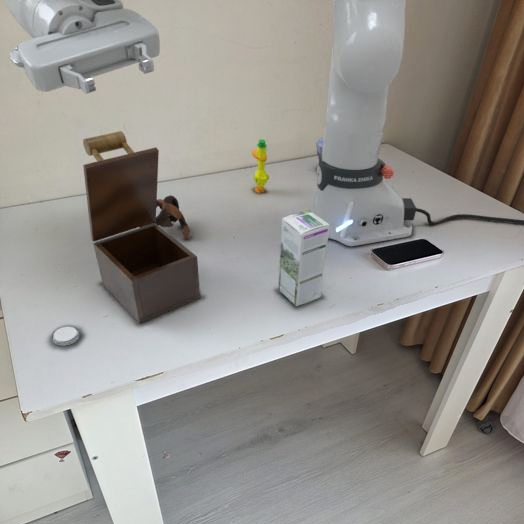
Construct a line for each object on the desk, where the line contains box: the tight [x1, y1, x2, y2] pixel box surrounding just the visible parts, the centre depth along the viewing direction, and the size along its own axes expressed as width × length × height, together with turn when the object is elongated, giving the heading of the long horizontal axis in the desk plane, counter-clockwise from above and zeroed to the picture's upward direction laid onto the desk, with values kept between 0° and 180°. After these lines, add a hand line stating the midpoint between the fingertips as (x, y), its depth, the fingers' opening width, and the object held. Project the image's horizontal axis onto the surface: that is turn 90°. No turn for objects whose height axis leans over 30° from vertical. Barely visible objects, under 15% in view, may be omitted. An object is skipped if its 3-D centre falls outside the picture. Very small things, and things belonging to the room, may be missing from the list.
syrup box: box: [278, 210, 330, 307], centre depth 81 cm, size 6×6×14 cm
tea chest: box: [93, 223, 201, 324], centre depth 83 cm, size 14×12×8 cm
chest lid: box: [82, 130, 160, 243], centre depth 79 cm, size 15×12×7 cm
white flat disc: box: [51, 325, 80, 346], centre depth 76 cm, size 4×4×1 cm
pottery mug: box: [138, 195, 191, 241], centre depth 99 cm, size 12×10×8 cm
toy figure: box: [251, 139, 270, 194], centre depth 112 cm, size 7×4×12 cm, turn 27°
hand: (120, 77), depth 68 cm, fingers open, 8 cm apart
